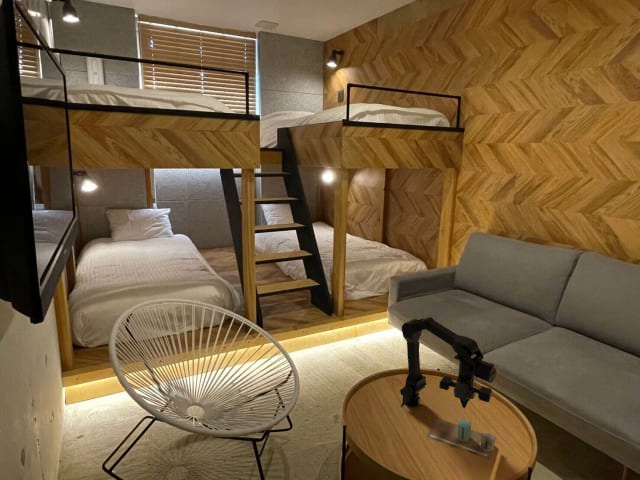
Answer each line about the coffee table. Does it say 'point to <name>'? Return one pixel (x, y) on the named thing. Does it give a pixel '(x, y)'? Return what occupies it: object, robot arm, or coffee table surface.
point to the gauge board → (476, 444)
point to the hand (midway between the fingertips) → (464, 407)
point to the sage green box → (464, 430)
